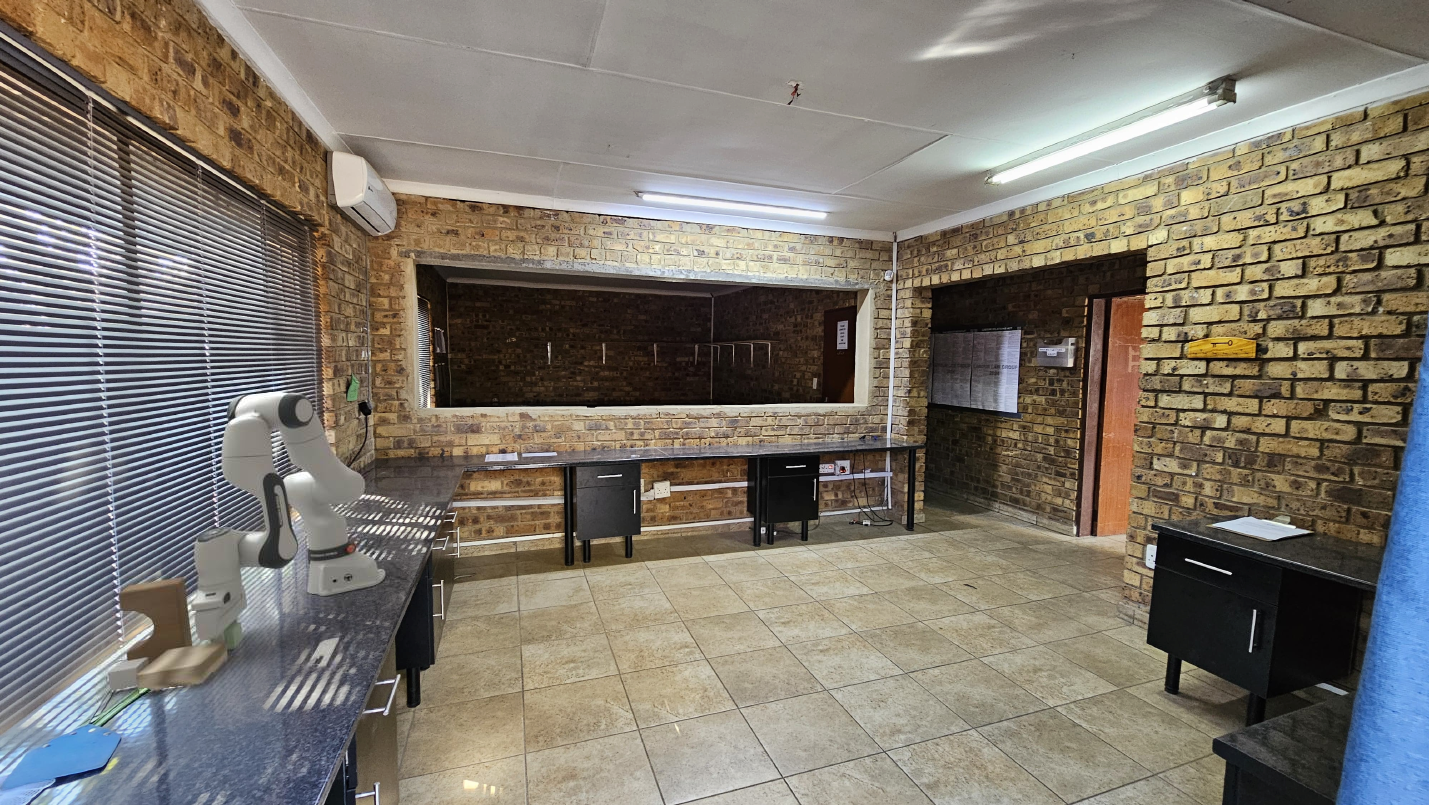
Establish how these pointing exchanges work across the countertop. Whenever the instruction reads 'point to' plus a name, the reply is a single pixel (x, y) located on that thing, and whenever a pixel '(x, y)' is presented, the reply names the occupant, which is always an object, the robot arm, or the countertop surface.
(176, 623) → the decorative block
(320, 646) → the white plastic strip tool
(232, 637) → the sage green cube
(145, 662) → the grey plastic cube
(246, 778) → the countertop surface
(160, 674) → the pale maple block
